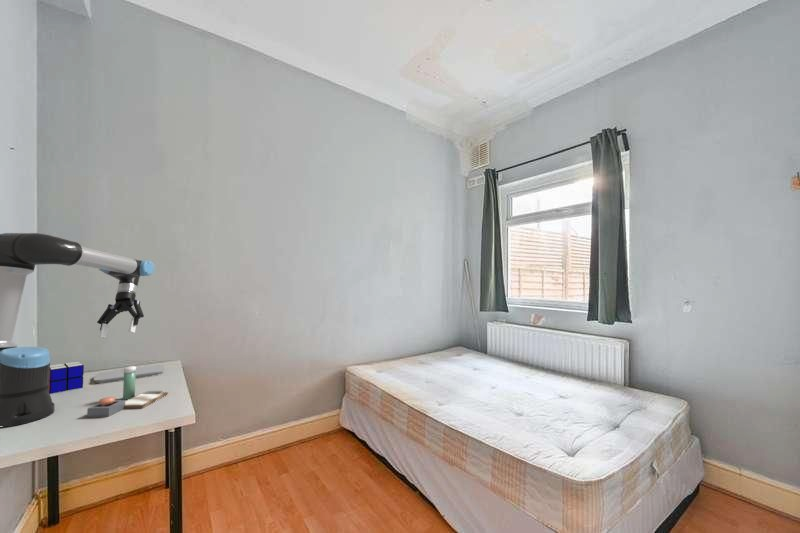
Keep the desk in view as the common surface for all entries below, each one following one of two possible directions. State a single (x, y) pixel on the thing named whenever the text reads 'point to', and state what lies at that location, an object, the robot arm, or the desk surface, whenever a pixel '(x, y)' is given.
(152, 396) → the open book
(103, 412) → the button box
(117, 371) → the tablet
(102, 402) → the button
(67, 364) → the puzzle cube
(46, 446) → the desk surface
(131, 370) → the green bottle
